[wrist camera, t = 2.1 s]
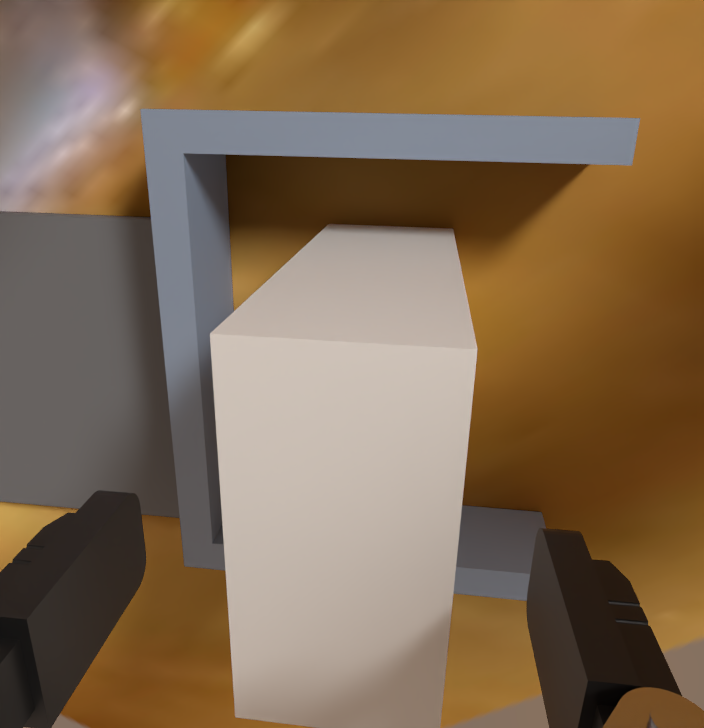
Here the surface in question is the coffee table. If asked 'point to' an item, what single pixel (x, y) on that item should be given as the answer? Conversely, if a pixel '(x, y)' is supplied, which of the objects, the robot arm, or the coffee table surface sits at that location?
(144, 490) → the rubber pad
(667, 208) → the coffee table surface
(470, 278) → the coffee table surface
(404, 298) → the packed carton
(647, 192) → the coffee table surface
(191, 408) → the frame
